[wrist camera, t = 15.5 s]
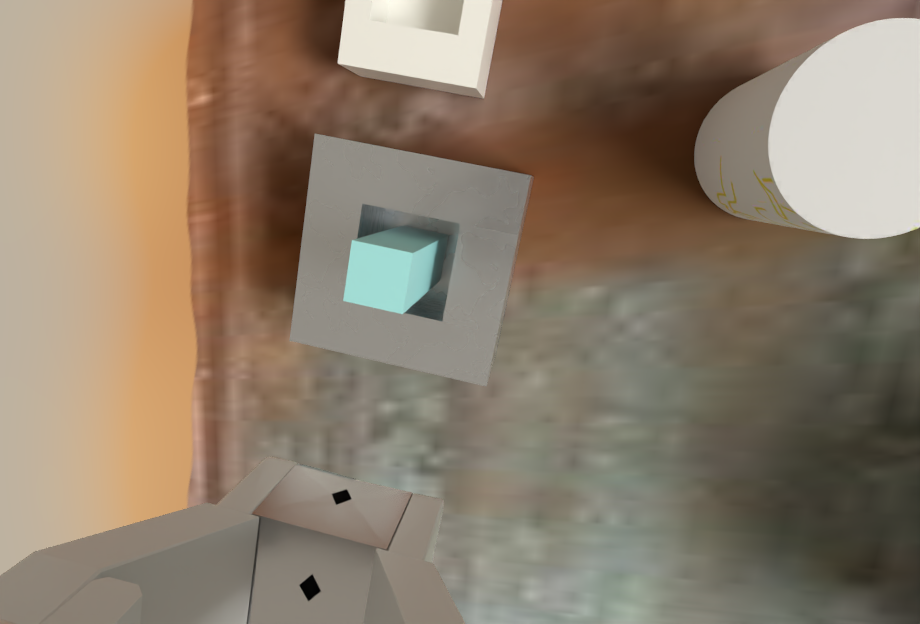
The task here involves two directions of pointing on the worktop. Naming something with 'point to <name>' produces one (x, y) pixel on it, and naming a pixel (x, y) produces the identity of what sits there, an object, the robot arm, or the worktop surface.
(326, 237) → the port
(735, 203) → the cup
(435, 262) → the plug
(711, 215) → the worktop surface
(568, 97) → the worktop surface
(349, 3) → the white square-hole block
